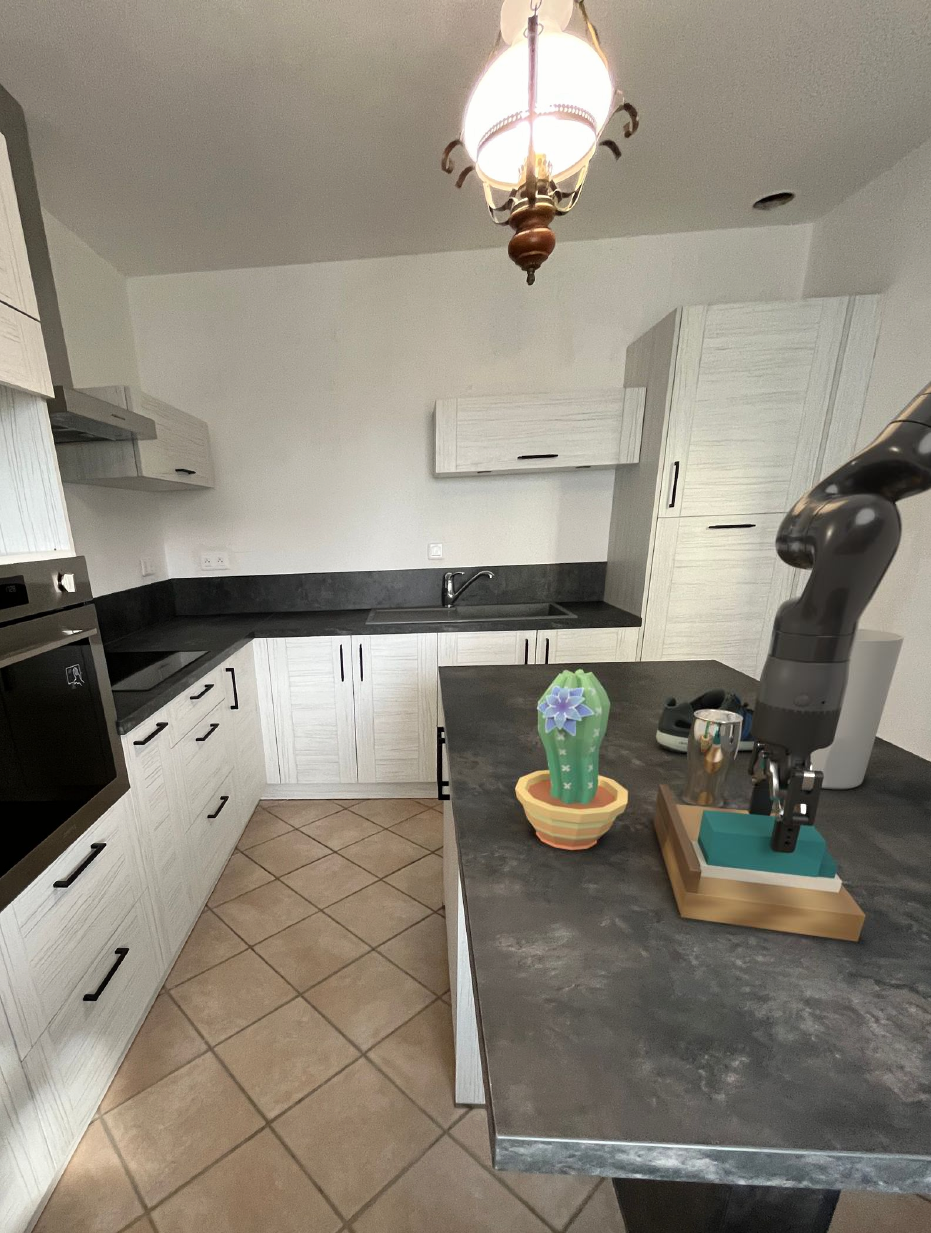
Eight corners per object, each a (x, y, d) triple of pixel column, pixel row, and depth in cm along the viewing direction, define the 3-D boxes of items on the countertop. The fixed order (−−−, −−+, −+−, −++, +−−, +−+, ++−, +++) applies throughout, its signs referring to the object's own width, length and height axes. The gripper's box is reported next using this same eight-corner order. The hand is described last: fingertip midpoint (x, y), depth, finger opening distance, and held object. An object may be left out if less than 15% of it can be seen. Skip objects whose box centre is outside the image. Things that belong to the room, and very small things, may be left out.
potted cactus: (492, 827, 91) (498, 667, 82) (573, 807, 96) (587, 655, 87) (557, 877, 78) (574, 693, 69) (647, 851, 83) (674, 676, 74)
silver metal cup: (706, 816, 92) (723, 725, 86) (668, 799, 98) (682, 712, 92) (736, 807, 94) (755, 717, 89) (697, 791, 100) (713, 706, 95)
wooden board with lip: (782, 839, 85) (793, 794, 82) (856, 946, 63) (873, 891, 61) (652, 826, 90) (659, 784, 87) (680, 922, 68) (690, 869, 66)
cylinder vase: (818, 795, 97) (858, 643, 88) (757, 767, 109) (786, 630, 100) (881, 786, 99) (925, 637, 91) (814, 760, 111) (848, 625, 102)
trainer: (818, 865, 71) (830, 820, 69) (839, 893, 66) (853, 845, 64) (688, 850, 75) (696, 808, 73) (698, 876, 70) (707, 831, 68)
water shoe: (808, 745, 118) (822, 688, 114) (683, 763, 112) (693, 704, 108) (763, 729, 128) (775, 677, 124) (646, 745, 121) (653, 690, 117)
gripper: (872, 720, 55) (831, 869, 61) (815, 682, 68) (786, 809, 74) (779, 716, 58) (749, 860, 63) (740, 680, 70) (718, 803, 76)
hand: (769, 832), depth 69 cm, fingers open, 8 cm apart
